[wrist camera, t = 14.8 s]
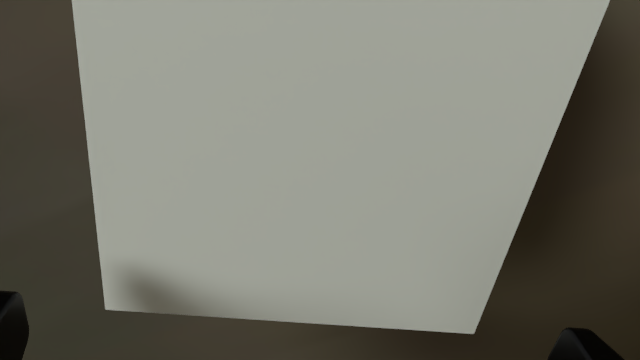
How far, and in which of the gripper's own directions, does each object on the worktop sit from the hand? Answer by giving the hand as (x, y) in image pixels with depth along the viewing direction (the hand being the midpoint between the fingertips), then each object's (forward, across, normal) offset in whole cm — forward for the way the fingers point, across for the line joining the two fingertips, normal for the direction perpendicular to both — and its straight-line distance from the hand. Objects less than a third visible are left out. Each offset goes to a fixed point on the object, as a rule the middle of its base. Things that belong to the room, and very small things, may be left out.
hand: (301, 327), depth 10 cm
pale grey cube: (+11, 0, -2) cm, 11 cm away
